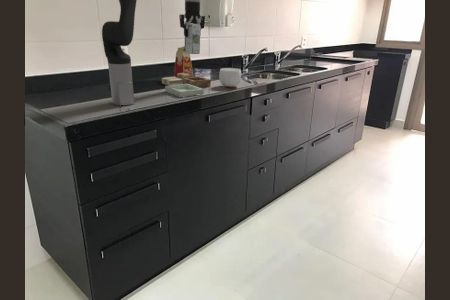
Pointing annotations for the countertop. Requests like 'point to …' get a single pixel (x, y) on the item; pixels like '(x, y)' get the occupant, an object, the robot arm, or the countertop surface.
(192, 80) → the socket
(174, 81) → the beige rectangular block
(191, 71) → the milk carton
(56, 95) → the countertop surface
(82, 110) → the countertop surface
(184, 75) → the stop block
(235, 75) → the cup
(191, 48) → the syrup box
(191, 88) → the tray
